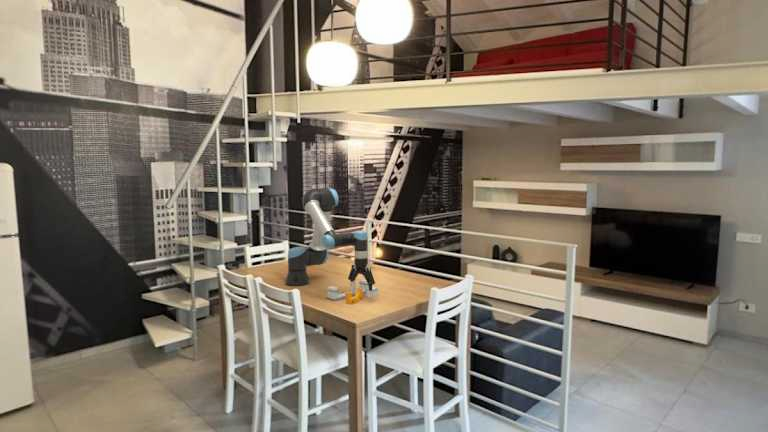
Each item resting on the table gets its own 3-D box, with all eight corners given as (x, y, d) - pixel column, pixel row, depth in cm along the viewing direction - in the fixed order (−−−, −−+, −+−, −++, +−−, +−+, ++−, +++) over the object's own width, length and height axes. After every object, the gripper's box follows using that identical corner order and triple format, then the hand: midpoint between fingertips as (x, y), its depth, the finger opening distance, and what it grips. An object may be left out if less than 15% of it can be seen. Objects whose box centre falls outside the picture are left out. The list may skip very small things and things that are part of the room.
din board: (326, 298, 286) (326, 296, 286) (361, 290, 306) (361, 288, 306) (335, 301, 281) (335, 298, 281) (370, 292, 301) (370, 290, 301)
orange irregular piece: (351, 305, 274) (351, 293, 273) (345, 303, 276) (345, 292, 276) (365, 300, 283) (365, 289, 282) (359, 299, 286) (359, 288, 285)
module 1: (327, 297, 286) (327, 286, 285) (331, 296, 288) (331, 286, 287) (334, 299, 281) (334, 288, 281) (338, 298, 284) (338, 287, 283)
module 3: (365, 296, 292) (365, 288, 291) (370, 294, 296) (370, 286, 295) (372, 297, 289) (372, 289, 288) (377, 295, 293) (377, 287, 292)
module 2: (359, 289, 303) (359, 280, 303) (362, 288, 306) (362, 279, 305) (366, 291, 299) (366, 281, 299) (369, 290, 301) (369, 280, 301)
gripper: (341, 256, 289) (342, 291, 290) (371, 261, 271) (371, 299, 273) (351, 254, 294) (351, 289, 296) (381, 259, 276) (381, 296, 278)
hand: (361, 294), depth 284 cm, fingers open, 13 cm apart
